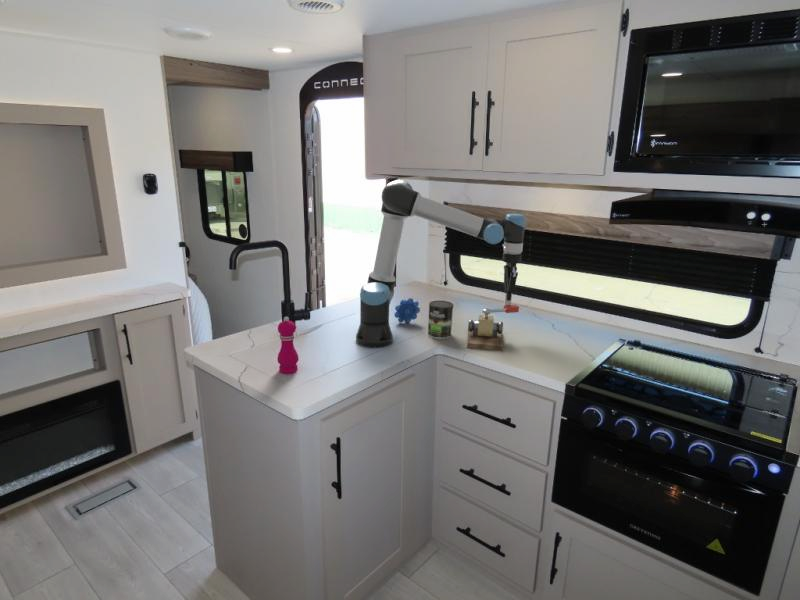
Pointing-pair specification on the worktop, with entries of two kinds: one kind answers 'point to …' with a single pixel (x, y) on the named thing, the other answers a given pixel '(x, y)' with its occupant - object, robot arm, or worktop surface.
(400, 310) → the grapes
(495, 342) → the base board
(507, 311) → the valve lever
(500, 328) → the valve body
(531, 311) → the worktop surface
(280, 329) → the pepper mill
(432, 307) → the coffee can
